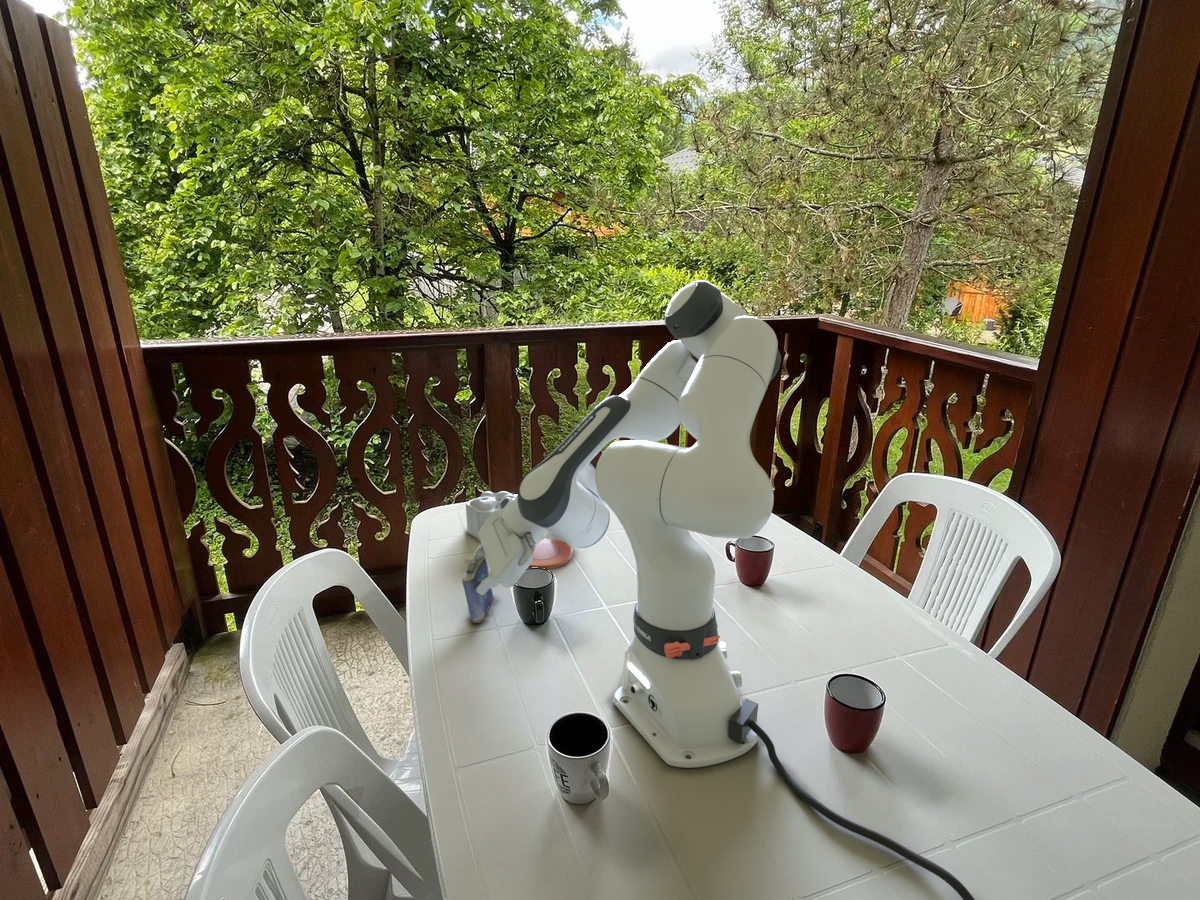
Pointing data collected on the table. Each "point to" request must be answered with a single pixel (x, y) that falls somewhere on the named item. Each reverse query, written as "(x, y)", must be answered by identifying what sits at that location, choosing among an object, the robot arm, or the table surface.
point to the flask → (470, 578)
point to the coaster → (551, 554)
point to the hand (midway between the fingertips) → (474, 578)
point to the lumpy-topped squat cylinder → (483, 509)
